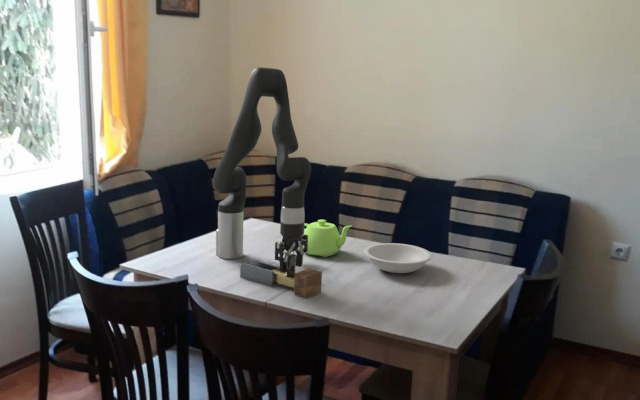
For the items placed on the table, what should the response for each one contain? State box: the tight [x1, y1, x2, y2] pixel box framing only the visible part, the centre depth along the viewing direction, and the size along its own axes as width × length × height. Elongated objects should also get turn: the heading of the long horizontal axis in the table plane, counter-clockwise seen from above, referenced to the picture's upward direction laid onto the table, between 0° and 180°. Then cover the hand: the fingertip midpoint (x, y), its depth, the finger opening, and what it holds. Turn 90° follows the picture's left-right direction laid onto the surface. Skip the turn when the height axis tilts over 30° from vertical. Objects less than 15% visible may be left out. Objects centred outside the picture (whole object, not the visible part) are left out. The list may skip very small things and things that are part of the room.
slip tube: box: [271, 253, 297, 289], centre depth 206 cm, size 16×3×10 cm, turn 54°
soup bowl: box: [364, 242, 433, 274], centre depth 228 cm, size 24×24×7 cm
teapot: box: [303, 219, 352, 258], centre depth 244 cm, size 22×15×13 cm
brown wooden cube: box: [293, 267, 323, 300], centre depth 202 cm, size 6×7×7 cm
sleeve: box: [239, 258, 280, 288], centre depth 213 cm, size 14×6×5 cm, turn 54°
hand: (291, 269), depth 205 cm, fingers open, 7 cm apart
